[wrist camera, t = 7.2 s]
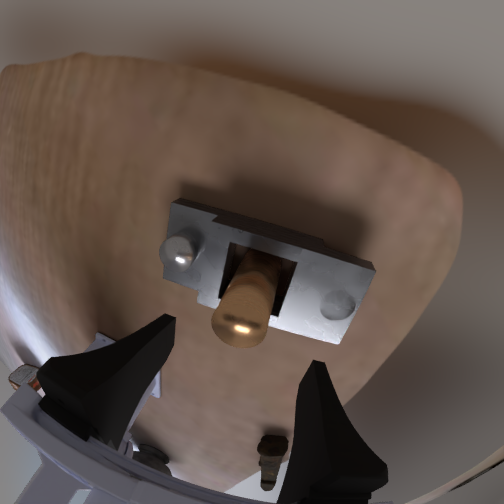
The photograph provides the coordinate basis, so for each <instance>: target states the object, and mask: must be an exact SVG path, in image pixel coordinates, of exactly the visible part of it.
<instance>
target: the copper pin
mask: <svg viewBox="0 0 504 504" xmlns="http://www.w3.org/2000/svg"><path fill="white" fill-rule="evenodd" d="M280 271H281V259H280V257H279V256H276V255H272V254H269V253H266V252H262V251H259V250H256V249H250V250H249V251H248V252H247V253H246V254H245V256H244V258H243V260H242V262H241V264H240V265H239V267H238V269H237V271H236V273H235V275H234V277H233V278H232V280H231V282H230V284H229V286H228V288H227V290H226V291H225V293H224V295H223V297H222V299H221V301H220V303H219V304H218V306H217V308H216V310H215V312H214V314H213V316H212V320H211V324H212V328H213V330H214V332H215V334H216V335H217V336H218V337H219V338H220V339H221V340H222V341H223V342H225V343H226V344H228V345H231V346H233V347H238V348H250V347H254V346H256V345H258V344H260V343H261V342H262V341H263V340H264V338H265V336H266V332H267V328H268V324H269V320H270V315H271V311H272V307H273V302H274V298H275V293H276V289H277V284H278V280H279V275H280Z"/></svg>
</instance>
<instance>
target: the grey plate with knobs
mask: <svg viewBox="0 0 504 504" xmlns="http://www.w3.org/2000/svg"><path fill="white" fill-rule="evenodd" d="M236 244H239V245H242V246H246V247H249V248H252V249H256V250H259V251H262V252H266V253H269V254H272V255H276V256H279V257H282V258H286V259H289V260H292V261H294V263H293V266H292V269H291V272H290V275H289V278H288V281H287V283H286V286H285V289H284V292H283V295H282V296H281V295H278V294H275V298H274V302H273V307H272V311H271V315H270V320H269V324H268V326H271V327H275V328H278V329H282V330H285V331H289V332H292V333H296V334H300V335H303V336H307V337H311V338H315V339H318V340H322V341H326V342H330V343H334V344H339V342H340V341H341V339H342V337H343V335H344V334H345V332H346V330H347V328H348V326H349V325H350V323H351V321H352V319H353V317H354V315H355V313H356V311H357V309H358V308H359V306H360V304H361V302H362V300H363V298H364V296H365V294H366V292H367V290H368V287H369V285H370V283H371V281H372V279H373V277H374V275H375V273H376V270H375V268H374V266H373V264H372V262H370V261H367V260H364V259H360V258H357V257H354V256H351V255H348V254H345V253H342V252H339V251H336V250H332V249H329V248H326V247H324V245H323V239H320V238H317V237H313V236H310V235H307V234H304V233H300V232H297V231H294V230H291V229H287V228H284V227H281V226H277V225H274V224H271V223H267V222H264V221H260V220H257V219H253V218H250V217H247V216H243V215H240V214H236V213H232V212H229V211H225V210H222V209H218V208H214V207H211V206H207V205H203V204H200V203H196V202H192V201H189V200H185V199H181V198H179V199H177V200H175V201H173V202H171V208H170V216H169V224H168V232H167V240H165V241H164V242H163V243H162V244H161V246H160V250H159V255H160V259H161V261H162V263H163V264H164V272H163V278H164V279H166V280H169V281H172V282H175V283H177V284H180V285H183V286H186V287H189V288H192V289H194V290H197V291H199V293H198V299H197V303H200V304H203V305H206V306H209V307H212V308H215V309H216V308H217V306H218V304H219V303H220V301H221V299H222V297H223V295H224V293H225V291H226V290H227V288H228V286H229V284H230V282H231V280H229V275H230V270H231V266H232V262H233V257H234V253H235V249H236Z"/></svg>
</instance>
